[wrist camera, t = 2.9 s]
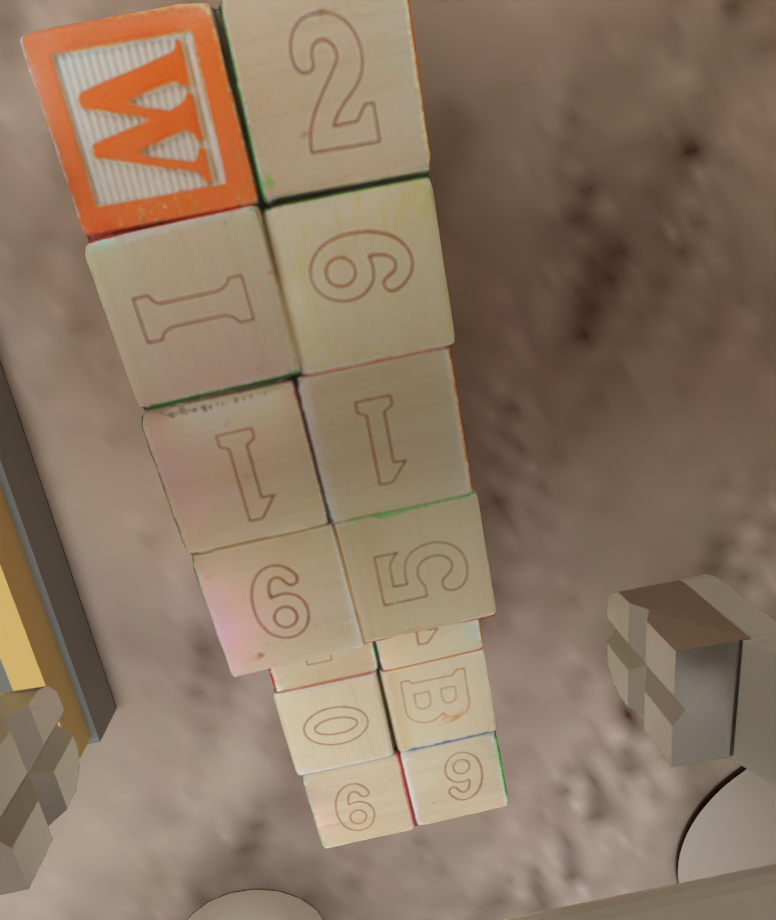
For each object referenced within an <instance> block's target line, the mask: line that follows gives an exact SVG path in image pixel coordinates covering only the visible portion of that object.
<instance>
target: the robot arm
mask: <svg viewBox="0 0 776 920" xmlns="http://www.w3.org/2000/svg"><path fill="white" fill-rule="evenodd" d="M607 618H608V620H609V621H610V622H611V623H612V624H613V626H614V627H615V628H616V631H615V632H614V634H613V635H612V637H611V638H610V640H609V641H608V642H607V655H608V665H609V669H610V673H611V677H612V680H613V683H614V685H615V687H616V689H617V691H618V693H619V695H620V696H621V698H622V699H623V701H624V702H625V704H626V705H627V707H629V708H631V709H633V710H635V711H637V712H639V713H641V714H643V715H644V730H645V732H646V733H647V734H648V736H649V737H650V738H651V740H652V741H653V743H654V744H655V745H656V747H657V748H658V749H659V751H660V752H661V753H662V755H663V756H664V758H665V759H666V760H667V762H668V763H669V764H670V766H671V767H673V766H680V765H686V764H692V763H698V762H705V761H711V760H717V759H724V758H730V757H733V761H735V762H737V763H738V764H740V765H742V766H743V767H745V768H746V770H745V771H744V772H742V773H741V774H739V775H738V776H737V777H735V778H734V779H733V780H731V781H730V782H729V783H728V784H727V785H725V786H724V787H723V788H722V789H721V790H720V791H719V792H718V793H717V794H716V795H715V796H714V797H713V798H712V799H711V800H710V801H709V802H708V803H707V804H706V806H705V807H704V808H703V809H702V811H701V812H700V813H699V815H698V816H697V818H696V819H695V821H694V822H693V824H692V826H691V827H690V829H689V831H688V833H687V835H686V838H685V840H684V843H683V846H682V849H681V852H680V857H679V862H678V880H679V883H678V884H673V885H668V886H663V887H658V888H653V889H648V890H643V891H639V892H634V893H629V894H624V895H619V896H614V897H609V898H604V899H599V900H594V901H590V902H585V903H580V904H575V905H570V906H565V907H560V908H555V909H550V910H545V911H541V912H536V913H531V914H526V915H521V916H516V917H511V918H506V919H501V920H776V621H775V620H773V619H772V618H771V617H769V616H768V615H766V614H765V613H764V612H762V611H761V610H760V609H758V608H757V607H756V606H754V605H753V604H752V603H750V602H749V601H748V600H746V599H745V598H744V597H742V596H741V595H740V594H738V593H737V592H736V591H734V590H733V589H731V588H730V587H729V586H727V585H726V584H725V583H723V582H722V581H721V580H719V579H718V578H717V577H715V576H711V575H707V574H704V575H699V576H694V577H689V578H685V579H680V580H675V581H672V582H667V583H662V584H656V585H651V586H646V587H640V588H635V589H630V590H624V591H619V592H614V593H610V595H609V599H608V602H607ZM63 711H64V708H63V706H62V703H61V701H60V698H59V696H58V693H57V691H56V690H54V689H52V688H50V687H48V686H44V687H37V688H30V689H24V690H17V691H10V692H3V693H0V895H3V894H8V893H12V892H17V891H21V890H26V889H29V888H30V885H31V883H32V881H33V879H34V877H35V875H36V873H37V871H38V869H39V867H40V865H41V863H42V861H43V859H44V857H45V855H46V852H47V850H48V848H49V846H50V844H51V842H52V840H53V838H52V835H51V832H50V830H49V827H48V826H49V825H50V824H51V823H52V822H53V821H54V820H56V819H57V818H58V817H59V816H60V815H61V814H62V813H63V812H64V811H66V810H67V809H68V807H69V804H70V802H71V800H72V798H73V795H74V793H75V791H76V787H77V781H78V775H79V769H80V765H79V755H78V748H77V745H76V742H75V739H74V736H73V735H72V734H70V733H69V732H67V731H66V730H65V729H63V728H62V727H60V726H59V725H57V724H58V722H59V720H60V718H61V716H62V714H63Z"/></svg>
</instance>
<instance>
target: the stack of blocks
mask: <svg viewBox="0 0 776 920" xmlns="http://www.w3.org/2000/svg"><path fill="white" fill-rule="evenodd" d="M20 43H21V46H22V50H23V53H24V56H25V59H26V62H27V66H28V69H29V72H30V75H31V78H32V81H33V84H34V87H35V90H36V93H37V96H38V99H39V102H40V104H41V107H42V110H43V113H44V116H45V119H46V122H47V125H48V128H49V131H50V134H51V137H52V140H53V143H54V146H55V149H56V152H57V156H58V159H59V162H60V165H61V169H62V172H63V175H64V177H65V180H66V183H67V186H68V189H69V192H70V195H71V198H72V201H73V204H74V207H75V210H76V214H77V217H78V220H79V223H80V225H81V228H82V230H83V231H84V233H85V234H86V236H87V237H88V239H89V242H88V244H87V246H86V248H85V257H86V260H87V263H88V266H89V268H90V271H91V274H92V276H93V279H94V282H95V285H96V288H97V292H98V295H99V298H100V301H101V303H102V306H103V308H104V311H105V313H106V316H107V319H108V322H109V325H110V328H111V331H112V334H113V337H114V340H115V343H116V345H117V348H118V351H119V354H120V357H121V360H122V363H123V365H124V368H125V371H126V374H127V376H128V379H129V382H130V385H131V387H132V390H133V393H134V395H135V398H136V401H137V402H138V404H139V405H140V406H141V407H142V408H144V409H145V413H144V415H143V417H142V430H143V432H144V435H145V437H146V440H147V443H148V447H149V450H150V453H151V455H152V458H153V460H154V463H155V465H156V468H157V471H158V474H159V477H160V480H161V483H162V486H163V489H164V491H165V494H166V497H167V500H168V502H169V505H170V508H171V511H172V514H173V516H174V519H175V522H176V525H177V528H178V531H179V534H180V536H181V539H182V542H183V544H184V546H185V548H186V549H187V550H188V551H189V552H190V553H191V554H192V557H193V566H194V571H195V574H196V577H197V580H198V582H199V585H200V588H201V591H202V594H203V596H204V599H205V602H206V605H207V608H208V611H209V613H210V616H211V619H212V622H213V625H214V628H215V631H216V634H217V637H218V639H219V642H220V645H221V648H222V650H223V653H224V656H225V658H226V661H227V664H228V667H229V671H230V673H231V674H232V676H233V677H237V676H241V675H245V674H249V673H253V672H257V671H262V670H266V669H269V672H270V675H271V679H272V682H273V685H274V691H273V695H274V699H275V703H276V706H277V710H278V713H279V717H280V720H281V724H282V727H283V731H284V734H285V737H286V741H287V744H288V747H289V750H290V754H291V757H292V760H293V763H294V767H295V770H296V772H297V774H298V775H301V776H302V778H303V782H304V787H305V791H306V794H307V797H308V801H309V804H310V807H311V811H312V814H313V818H314V821H315V824H316V827H317V831H318V835H319V838H320V841H321V844H322V847H323V848H324V849H325V848H331V847H336V846H340V845H345V844H349V843H353V842H357V841H362V840H366V839H371V838H375V837H380V836H384V835H389V834H394V833H399V832H404V831H408V830H412V829H413V828H414V827H415V826H416V825H424V824H429V823H434V822H438V821H443V820H448V819H452V818H457V817H461V816H465V815H469V814H473V813H479V812H483V811H486V810H491V809H495V808H500V807H504V806H507V805H508V796H507V791H506V785H505V779H504V774H503V768H502V762H501V755H500V750H499V746H498V741H497V737H496V733H495V729H496V728H497V727H496V718H495V713H494V707H493V701H492V695H491V689H490V683H489V678H488V672H487V666H486V660H485V654H484V650H483V639H482V633H481V627H480V620H479V619H483V618H487V617H491V616H494V615H495V614H496V612H497V611H496V605H495V599H494V593H493V587H492V581H491V575H490V568H489V562H488V556H487V550H486V544H485V539H484V533H483V526H482V520H481V514H480V507H479V501H478V496H477V494H476V492H475V491H474V489H473V488H472V484H471V476H470V469H469V461H468V455H467V448H466V442H465V436H464V430H463V424H462V419H461V413H460V406H459V399H458V392H457V386H456V380H455V374H454V368H453V362H452V358H451V353H450V350H451V348H452V346H453V344H454V327H453V321H452V314H451V307H450V300H449V294H448V287H447V281H446V275H445V269H444V262H443V256H442V249H441V242H440V235H439V228H438V220H437V213H436V206H435V199H434V192H433V188H432V185H431V182H430V179H429V177H428V173H429V170H430V150H429V143H428V136H427V129H426V122H425V114H424V107H423V100H422V92H421V85H420V77H419V70H418V63H417V55H416V48H415V41H414V33H413V26H412V19H411V12H410V5H409V0H221V3H220V6H219V9H214V8H213V7H211V6H210V5H209V4H208V3H187V4H177V5H172V6H167V7H162V8H157V9H151V10H145V11H140V12H134V13H128V14H123V15H117V16H112V17H106V18H101V19H96V20H91V21H85V22H80V23H75V24H70V25H65V26H59V27H54V28H49V29H44V30H39V31H36V32H33V33H30V34H27V35H24V36H22V37H21V39H20Z"/></svg>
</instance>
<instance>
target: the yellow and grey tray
mask: <svg viewBox="0 0 776 920" xmlns="http://www.w3.org/2000/svg"><path fill="white" fill-rule="evenodd" d="M44 686H48V687H50V688H52V689H54V690H56V691H57V693H58V696H59V698H60V701H61V703H62V706H63V708H64V711H63V714H62V716H61V718H60V720H59V722H58V724H57V725H59V726H60V727H62V728H63V729H65V730H66V731H67V732H69V733H70V734H72V735H73V736H74V739H75V742H76V745H77V748H78V755H79V759H80V757H81V755H82V753H83V751H84V749H85V747H86V745H87V744H91V743H96V742H100V741H101V739H102V737H103V735H104V733H105V731H106V729H107V727H108V725H109V723H110V720H111V718H112V716H113V714H114V712H115V710H116V706H115V703H114V700H113V697H112V694H111V691H110V688H109V685H108V682H107V679H106V676H105V673H104V670H103V667H102V664H101V661H100V658H99V655H98V652H97V649H96V646H95V643H94V640H93V637H92V634H91V631H90V628H89V625H88V622H87V619H86V616H85V613H84V610H83V608H82V605H81V602H80V599H79V596H78V593H77V590H76V587H75V584H74V581H73V578H72V575H71V572H70V569H69V566H68V563H67V560H66V557H65V554H64V551H63V548H62V545H61V542H60V539H59V536H58V533H57V530H56V527H55V524H54V521H53V518H52V515H51V512H50V509H49V506H48V503H47V500H46V497H45V494H44V491H43V488H42V485H41V482H40V479H39V476H38V473H37V470H36V467H35V464H34V461H33V458H32V455H31V452H30V449H29V446H28V443H27V440H26V437H25V434H24V431H23V428H22V425H21V422H20V419H19V417H18V414H17V411H16V408H15V405H14V402H13V399H12V396H11V393H10V390H9V387H8V384H7V381H6V378H5V375H4V372H3V369H2V366H1V363H0V693H3V692H10V691H17V690H24V689H30V688H37V687H44Z"/></svg>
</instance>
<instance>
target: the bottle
mask: <svg viewBox="0 0 776 920" xmlns="http://www.w3.org/2000/svg"><path fill="white" fill-rule="evenodd" d="M188 920H323V919H322V918H321V916H320V915H319V913H318V912H317V910H316V909H314V908H313V907H311V906H310V905H309V904H307V903H306V902H304V901H303V900H301V899H300V898H297V897H294V896H291V895H288V894H285V893H282V892H279V891H269V890H256V889H254V890H247V891H241V892H234V893H229V894H227V895H224V896H222V897H220V898H217V899H215V900H212V901H210V902H208V903H206V904H205V905H204V906H203V907H201V908H200V909H199V910H197V911H196V912H195V913H193V914H192V915H191V916H190V918H189V919H188Z"/></svg>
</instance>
